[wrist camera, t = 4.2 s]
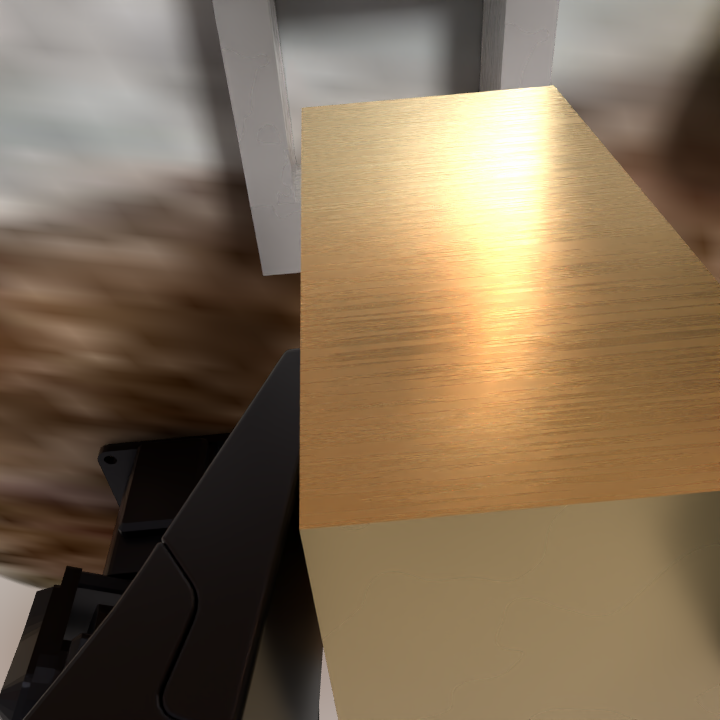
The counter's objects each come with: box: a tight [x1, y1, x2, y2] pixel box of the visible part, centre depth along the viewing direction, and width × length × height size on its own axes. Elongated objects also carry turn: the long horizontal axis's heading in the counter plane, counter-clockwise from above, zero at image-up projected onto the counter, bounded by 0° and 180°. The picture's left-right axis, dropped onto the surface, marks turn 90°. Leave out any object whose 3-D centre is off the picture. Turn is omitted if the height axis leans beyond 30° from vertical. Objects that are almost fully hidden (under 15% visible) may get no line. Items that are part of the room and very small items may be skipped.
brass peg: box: [299, 86, 720, 720], centre depth 9 cm, size 4×4×8 cm
